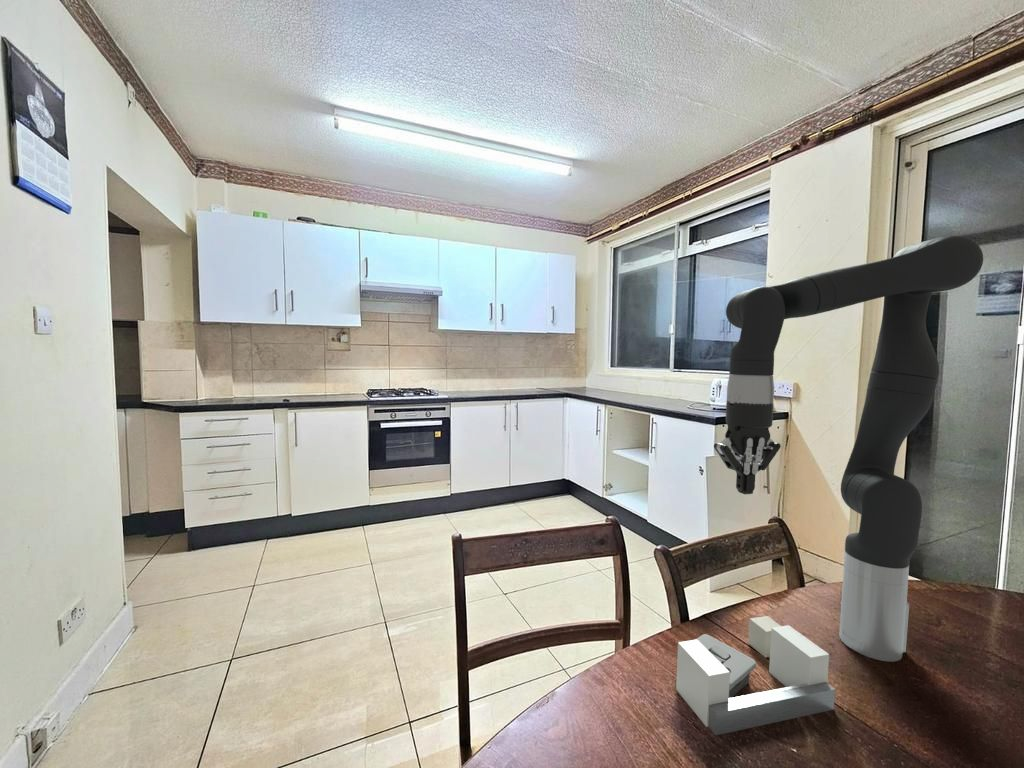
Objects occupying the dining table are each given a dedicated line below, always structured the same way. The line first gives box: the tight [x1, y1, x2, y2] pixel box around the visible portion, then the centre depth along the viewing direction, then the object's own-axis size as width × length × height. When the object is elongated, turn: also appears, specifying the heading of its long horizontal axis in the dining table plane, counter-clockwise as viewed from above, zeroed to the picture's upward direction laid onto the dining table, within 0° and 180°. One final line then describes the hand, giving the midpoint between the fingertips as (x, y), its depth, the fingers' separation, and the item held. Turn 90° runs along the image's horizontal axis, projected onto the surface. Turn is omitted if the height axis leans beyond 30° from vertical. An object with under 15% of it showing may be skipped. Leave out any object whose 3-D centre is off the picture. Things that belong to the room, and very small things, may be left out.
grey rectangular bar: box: [707, 681, 836, 736], centre depth 65 cm, size 21×2×4 cm, turn 103°
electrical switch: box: [676, 633, 757, 698], centre depth 73 cm, size 9×5×9 cm
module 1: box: [675, 638, 730, 728], centre depth 67 cm, size 4×8×8 cm, turn 13°
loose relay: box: [748, 615, 782, 658], centre depth 81 cm, size 4×4×5 cm
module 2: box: [768, 624, 830, 687], centre depth 72 cm, size 4×8×8 cm, turn 13°
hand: (744, 492), depth 81 cm, fingers closed
